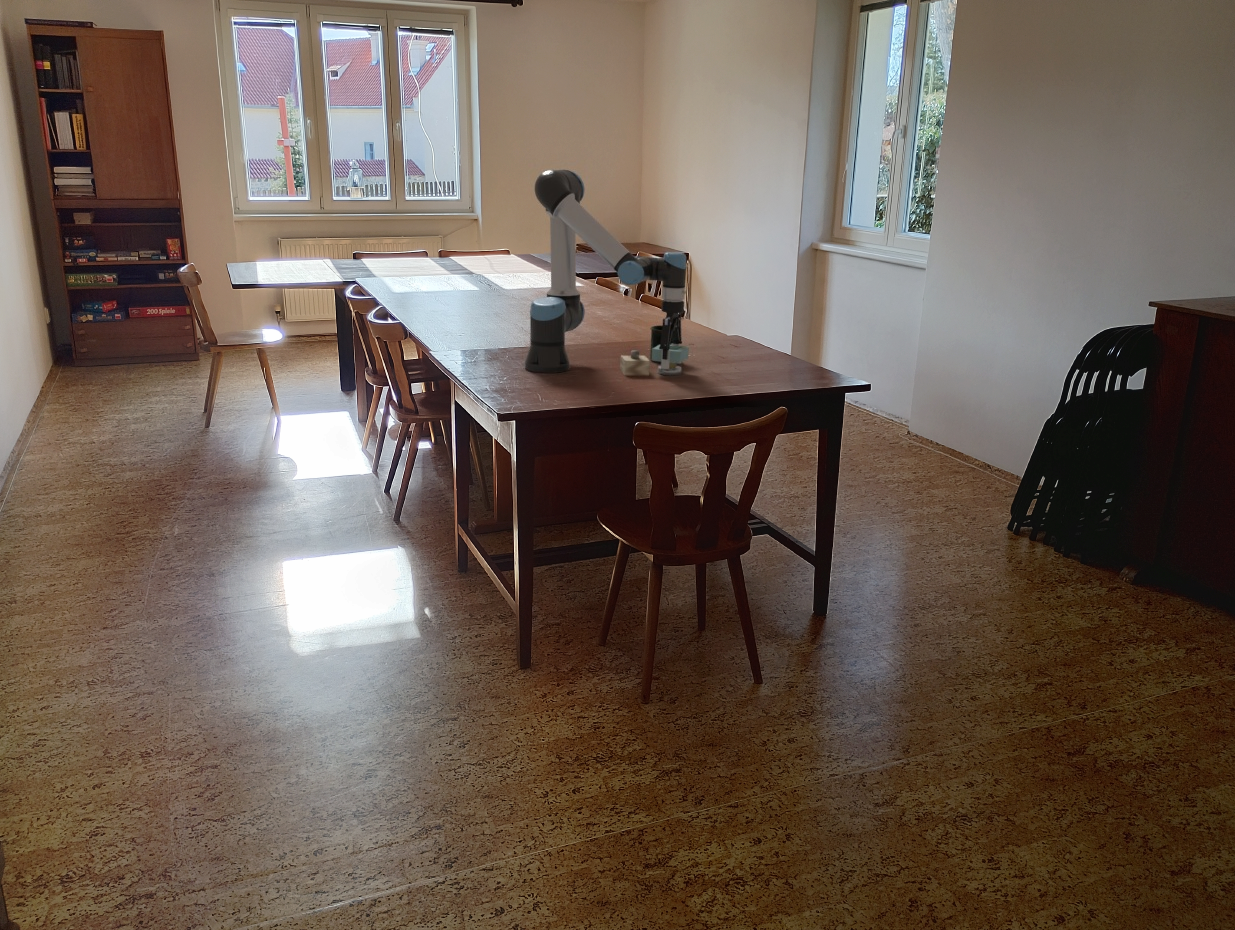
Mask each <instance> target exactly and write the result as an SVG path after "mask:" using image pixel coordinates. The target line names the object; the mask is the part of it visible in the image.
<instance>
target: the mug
mask: <svg viewBox="0 0 1235 930" xmlns="http://www.w3.org/2000/svg"><path fill="white" fill-rule="evenodd" d="M662 327H663V324H662V325H653V326H650V330H651V331H650V332H651V333H650V334H651V335H650V354H649V355H650V356H649V357H650V358H649V360H650V362H653V363H657V364H661V361H652V349H653V348H654V347H656V346H658V345H660V342H661V334H662ZM671 344H674V343H672V338H671V343H670V345H671Z"/></svg>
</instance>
